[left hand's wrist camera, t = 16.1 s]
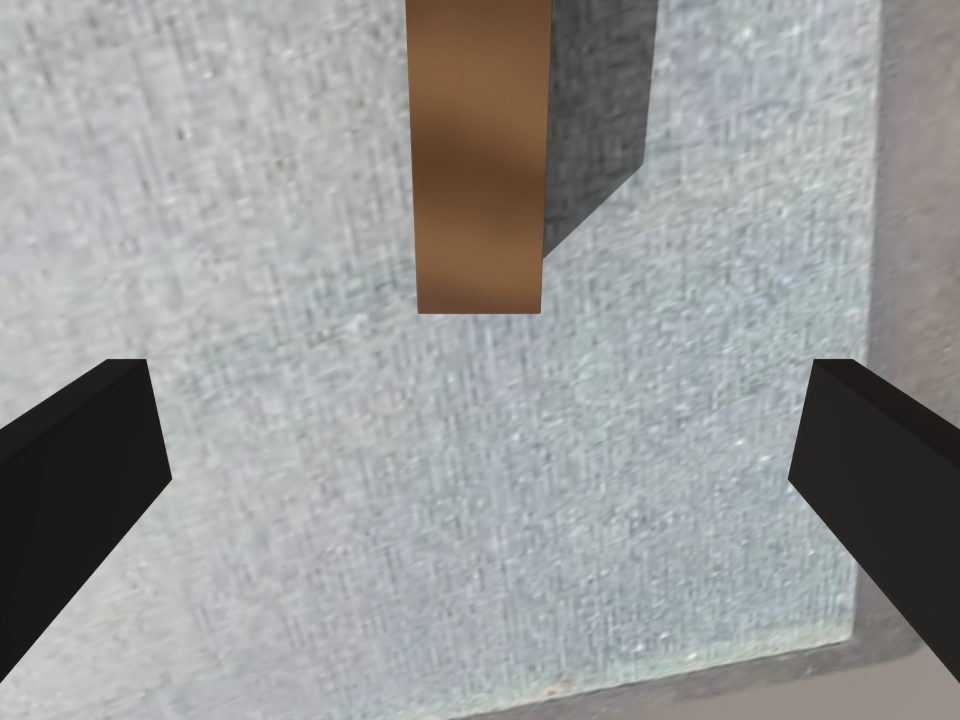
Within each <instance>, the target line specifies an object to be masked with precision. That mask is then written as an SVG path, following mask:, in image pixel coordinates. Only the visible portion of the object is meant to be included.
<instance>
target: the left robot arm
mask: <svg viewBox="0 0 960 720" xmlns="http://www.w3.org/2000/svg"><path fill="white" fill-rule="evenodd" d="M171 480H172V476H171V471H170V466H169V462H168V457H167V453H166V448H165V443H164V439H163V434H162V430H161V425H160V420H159V416H158V411H157V407H156V402H155V397H154V393H153V388H152V384H151V379H150V374H149V370H148V365H147V361H146V359H107V360H105V361H104V362H102V363H100V364H99V365H97V366H96V367H94V368H93V369H91V370H90V371H88V372H87V373H85V374H84V375H82V376H81V377H79V378H78V379H76V380H75V381H73V382H72V383H70V384H69V385H67V386H65V387H64V388H62V389H61V390H59V391H58V392H56V393H55V394H53V395H52V396H50V397H49V398H47V399H46V400H44V401H43V402H41V403H40V404H38V405H37V406H35V407H34V408H32V409H31V410H29V411H27V412H26V413H24V414H23V415H21V416H20V417H18V418H17V419H15V420H14V421H12V422H11V423H9V424H8V425H6V426H5V427H3V428H2V429H0V683H1V682H2V681H3V679H4V678H5V677H6V676H7V675H8V674H9V672H10V671H11V670H12V669H13V668H14V666H15V665H16V664H17V663H18V662H19V660H20V659H21V658H22V657H23V656H24V655H25V653H26V652H27V651H28V650H29V649H30V647H31V646H32V645H33V644H34V643H35V641H36V640H37V639H38V638H39V637H40V636H41V634H42V633H43V632H44V631H45V630H46V628H47V627H48V626H49V625H50V624H51V622H52V621H53V620H54V619H55V618H56V617H57V615H58V614H59V613H60V612H61V611H62V609H63V608H64V607H65V606H66V605H67V604H68V602H69V601H70V600H71V599H72V598H73V596H74V595H75V594H76V593H77V592H78V590H79V589H80V588H81V587H82V586H83V585H84V583H85V582H86V581H87V580H88V579H89V577H90V576H91V575H92V574H93V573H94V571H95V570H96V569H97V568H98V567H99V566H100V564H101V563H102V562H103V561H104V560H105V558H106V557H107V556H108V555H109V554H110V552H111V551H112V550H113V549H114V548H115V547H116V545H117V544H118V543H119V542H120V541H121V539H122V538H123V537H124V536H125V535H126V533H127V532H128V531H129V530H130V529H131V528H132V526H133V525H134V524H135V523H136V522H137V520H138V519H139V518H140V517H141V516H142V514H143V513H144V512H145V511H146V510H147V509H148V507H149V506H150V505H151V504H152V503H153V501H154V500H155V499H156V498H157V497H158V496H159V494H160V493H161V492H162V491H163V490H164V488H165V487H166V486H167V485H168V484H169V482H170V481H171ZM788 480H789V481H790V482H791V484H792V485H793V486H794V487H795V488H796V490H797V491H798V492H799V493H800V494H801V496H802V497H803V498H804V499H805V500H806V501H807V503H808V504H809V505H810V506H811V507H812V509H813V510H814V511H815V512H816V513H817V515H818V516H819V517H820V518H821V519H822V520H823V522H824V523H825V524H826V525H827V526H828V528H829V529H830V530H831V531H832V532H833V533H834V535H835V536H836V537H837V538H838V539H839V541H840V542H841V543H842V544H843V545H844V547H845V548H846V549H847V550H848V551H849V552H850V554H851V555H852V556H853V557H854V558H855V560H856V561H857V562H858V563H859V564H860V566H861V567H862V568H863V569H864V570H865V571H866V573H867V574H868V575H869V576H870V577H871V579H872V580H873V581H874V582H875V583H876V585H877V586H878V587H879V588H880V589H881V590H882V592H883V593H884V594H885V595H886V596H887V598H888V599H889V600H890V601H891V602H892V604H893V605H894V606H895V607H896V608H897V609H898V611H899V612H900V613H901V614H902V615H903V617H904V618H905V619H906V620H907V621H908V622H909V624H910V625H911V626H912V627H913V628H914V630H915V631H916V632H917V633H918V634H919V636H920V637H921V638H922V639H923V640H924V641H925V643H926V644H927V645H928V646H929V647H930V649H931V650H932V651H933V652H934V653H935V655H936V656H937V657H938V658H939V659H940V660H941V662H942V663H943V664H944V665H945V666H946V668H947V669H948V670H949V671H950V672H951V674H952V675H953V676H954V677H955V678H956V679H957V681H958V682H959V683H960V429H958V428H957V427H955V426H954V425H952V424H951V423H949V422H948V421H946V420H945V419H943V418H942V417H940V416H939V415H937V414H936V413H934V412H933V411H931V410H929V409H928V408H926V407H925V406H923V405H922V404H920V403H919V402H917V401H916V400H914V399H913V398H911V397H910V396H908V395H907V394H905V393H904V392H902V391H901V390H899V389H898V388H896V387H895V386H893V385H891V384H890V383H888V382H887V381H885V380H884V379H882V378H881V377H879V376H878V375H876V374H875V373H873V372H872V371H870V370H869V369H867V368H866V367H864V366H863V365H861V364H860V363H858V362H856V361H855V360H853V359H814V361H813V365H812V370H811V374H810V379H809V384H808V388H807V393H806V397H805V402H804V407H803V411H802V416H801V420H800V425H799V430H798V434H797V439H796V443H795V448H794V453H793V457H792V462H791V466H790V471H789V476H788Z"/></svg>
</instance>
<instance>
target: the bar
mask: <svg viewBox="0 0 960 720" xmlns="http://www.w3.org/2000/svg"><path fill="white" fill-rule="evenodd" d="M552 2H553V0H405V3H406V29H407V54H408V79H409V105H410V130H411V156H412V181H413V206H414V232H415V257H416V283H417V308H418V314H540V313H541V289H542V263H543V237H544V211H545V185H546V159H547V132H548V106H549V80H550V54H551V28H552Z"/></svg>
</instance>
